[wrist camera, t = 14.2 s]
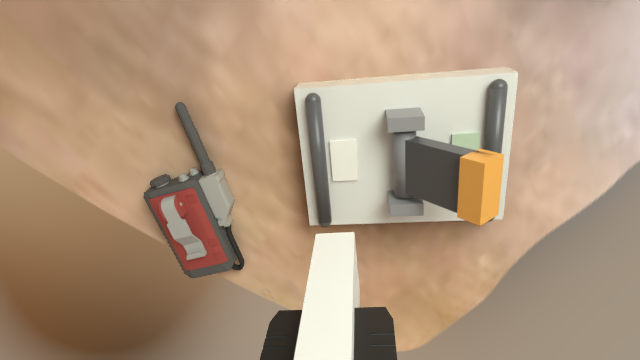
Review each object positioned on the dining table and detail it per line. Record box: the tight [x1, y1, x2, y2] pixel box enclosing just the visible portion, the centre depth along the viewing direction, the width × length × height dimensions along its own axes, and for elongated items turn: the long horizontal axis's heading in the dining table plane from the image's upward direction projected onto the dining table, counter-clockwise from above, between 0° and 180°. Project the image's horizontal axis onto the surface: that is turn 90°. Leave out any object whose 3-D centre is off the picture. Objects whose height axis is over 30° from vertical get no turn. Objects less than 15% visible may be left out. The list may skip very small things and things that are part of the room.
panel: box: [294, 67, 518, 227], centre depth 37 cm, size 14×19×6 cm
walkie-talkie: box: [144, 102, 244, 278], centre depth 43 cm, size 9×4×20 cm
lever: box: [393, 131, 504, 226], centre depth 33 cm, size 6×2×10 cm
